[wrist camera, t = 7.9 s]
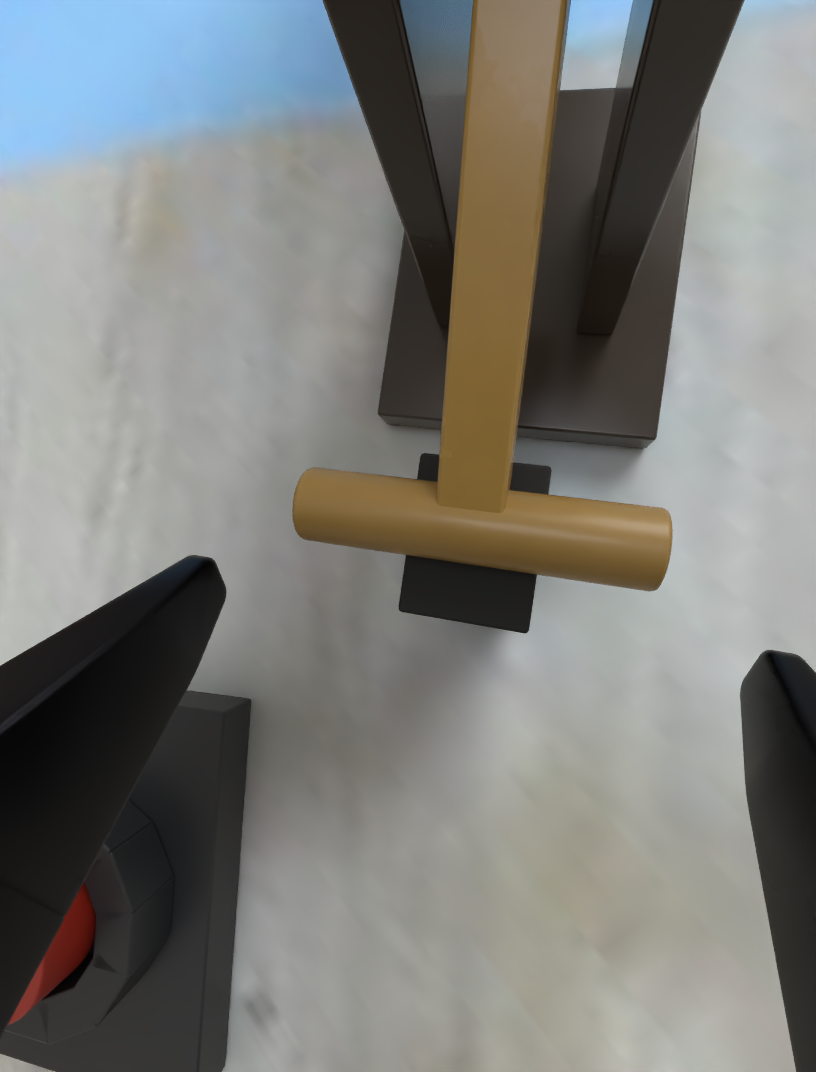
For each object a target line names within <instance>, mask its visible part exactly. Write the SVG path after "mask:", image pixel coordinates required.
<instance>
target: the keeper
mask: <svg viewBox="0 0 816 1072" xmlns="http://www.w3.org/2000/svg"><path fill="white" fill-rule="evenodd" d="M439 456H440V455H436V454H427V453H424V454H422V455H421V456H420V463H419V470H418V477H417V479H418V480H427V481H435V482H438V469H439ZM550 477H551V468H550V467H549V466H541V465H532V464H522V463H513V468H512V476H511V484H510V490H513V491H521V492H530V493H538V494H547V495H548V491H549V484H550ZM536 576H537V574H530V573H523V572H517V571H510V570H503V569H497V568H490V567H483V566H477V565H470V564H463V563H456V562H450V561H443V560H436V559H430V558H423V557H416V556H410V555H406V559H405V566H404V573H403V580H402V587H401V594H400V601H399V610H400V611H401V612H406V613H412V614H417V615H423V616H429V617H435V618H440V619H446V620H452V621H457V622H463V623H469V624H475V625H480V626H486V627H492V628H498V629H503V630H509V631H515V632H521V633H527V632H528V631H529V626H530V619H531V612H532V605H533V598H534V590H535V583H536Z"/></svg>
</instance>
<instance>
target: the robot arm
mask: <svg viewBox="0 0 816 1072" xmlns="http://www.w3.org/2000/svg"><path fill="white" fill-rule="evenodd" d="M225 599H226V586H225V584H224V581H223V579H222V576H221V574H220V572H219V569H218V567H217V564H216V562H215V561H214V560H213V559H212V558H209V557H203V556H197V555H191V556H188V557H186V558H184V559H182V560H181V561H179V562H177V563H175V564H174V565H172V566H170V567H169V568H167V569H165V570H163V571H162V572H160V573H158V574H157V575H155V576H153V577H151V578H150V579H148V580H146V581H145V582H143V583H141V584H139V585H138V586H136V587H134V588H133V589H131V590H129V591H128V592H126V593H124V594H122V595H121V596H119V597H117V598H116V599H114V600H112V601H110V602H109V603H107V604H105V605H104V606H102V607H100V608H98V609H97V610H95V611H93V612H92V613H90V614H88V615H86V616H85V617H83V618H81V619H80V620H78V621H76V622H74V623H73V624H71V625H69V626H68V627H66V628H64V629H62V630H61V631H59V632H57V633H56V634H54V635H52V636H50V637H49V638H47V639H45V640H44V641H42V642H40V643H38V644H37V645H35V646H33V647H32V648H30V649H28V650H26V651H25V652H23V653H21V654H20V655H18V656H16V657H14V658H13V659H11V660H9V661H8V662H6V663H4V664H2V665H1V666H0V1039H1V1037H2V1035H3V1033H4V1031H5V1029H6V1027H7V1025H8V1024H9V1022H10V1020H11V1018H12V1016H13V1014H14V1012H15V1011H16V1009H17V1007H18V1005H19V1003H20V1001H21V999H22V997H23V996H24V994H25V992H26V990H27V988H28V986H29V984H30V982H31V981H32V979H33V977H34V975H35V973H36V971H37V969H38V968H39V966H40V964H41V962H42V960H43V958H44V956H45V954H46V953H47V951H48V949H49V947H50V945H51V943H52V941H53V939H54V938H55V936H56V934H57V932H58V930H59V928H60V926H61V925H62V923H63V921H64V916H66V914H67V913H68V911H69V909H70V907H71V905H72V903H73V901H74V900H75V898H76V896H77V894H78V892H79V890H80V888H81V886H82V885H83V883H84V881H85V879H86V877H87V875H88V873H89V871H90V870H91V868H92V866H93V864H94V862H95V860H96V858H97V856H98V855H99V853H100V851H101V849H102V847H103V845H104V843H105V841H106V840H107V838H108V836H109V834H110V832H111V830H112V828H113V827H114V825H115V823H116V821H117V819H118V817H119V815H120V813H121V812H122V810H123V808H124V806H125V804H126V802H127V800H128V798H129V797H130V795H131V793H132V791H133V789H134V787H135V785H136V783H137V782H138V780H139V778H140V776H141V774H142V772H143V770H144V768H145V767H146V765H147V763H148V761H149V759H150V757H151V755H152V754H153V752H154V750H155V748H156V746H157V744H158V742H159V740H160V739H161V737H162V735H163V733H164V731H165V729H166V727H167V725H168V724H169V722H170V720H171V718H172V716H173V714H174V712H175V710H176V709H177V707H178V705H179V703H180V701H181V699H182V697H183V695H184V694H185V692H186V690H187V688H188V686H189V684H190V682H191V680H192V678H193V676H194V674H195V672H196V670H197V668H198V666H199V663H200V661H201V659H202V656H203V654H204V651H205V649H206V646H207V644H208V641H209V639H210V636H211V634H212V632H213V629H214V627H215V624H216V622H217V619H218V617H219V614H220V612H221V609H222V607H223V604H224V602H225ZM740 699H741V717H742V735H743V752H744V770H745V784H746V795H747V802H748V808H749V814H750V820H751V825H752V831H753V836H754V842H755V847H756V853H757V858H758V864H759V869H760V875H761V880H762V886H763V891H764V897H765V902H766V908H767V913H768V919H769V924H770V930H771V935H772V941H773V946H774V952H775V957H776V963H777V968H778V974H779V979H780V985H781V990H782V996H783V1001H784V1007H785V1012H786V1018H787V1023H788V1029H789V1034H790V1040H791V1045H792V1051H793V1056H794V1062H795V1067H796V1072H816V672H815V671H814V670H813V669H812V668H811V667H810V666H809V665H808V664H807V663H806V661H805V660H803V659H802V658H801V657H800V656H798V655H796V654H792V653H786V652H780V651H774V650H766V651H764V652H763V653H762V654H761V655H760V656H759V658H758V659H757V660H756V662H755V663H754V665H753V666H752V668H751V669H750V671H749V672H748V674H747V675H746V677H745V678H744V680H743V682H742V685H741V691H740Z"/></svg>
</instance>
